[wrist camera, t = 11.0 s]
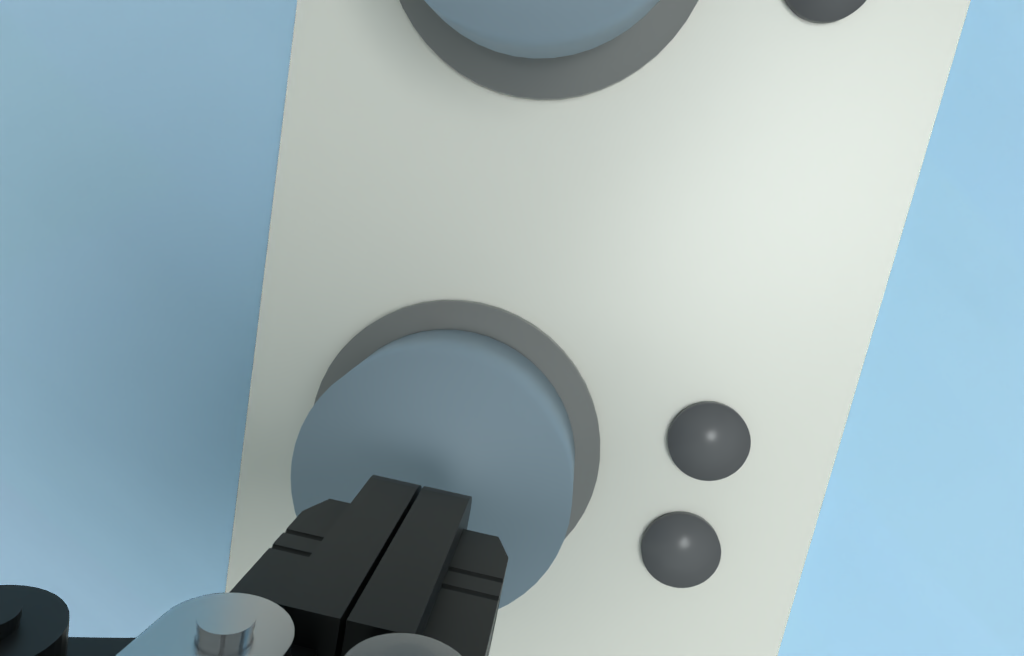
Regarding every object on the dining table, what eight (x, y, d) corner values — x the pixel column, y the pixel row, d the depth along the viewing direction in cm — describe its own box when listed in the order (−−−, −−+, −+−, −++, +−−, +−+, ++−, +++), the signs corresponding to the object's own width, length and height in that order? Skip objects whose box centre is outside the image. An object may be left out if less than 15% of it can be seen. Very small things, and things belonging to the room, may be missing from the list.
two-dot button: (598, 358, 14) (599, 385, 12) (547, 590, 15) (541, 649, 13) (347, 306, 15) (309, 324, 13) (314, 536, 16) (274, 586, 14)
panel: (974, -226, 15) (1078, -339, 12) (642, 960, 21) (651, 1099, 18) (394, -314, 16) (343, -442, 13) (235, 853, 22) (174, 968, 19)
